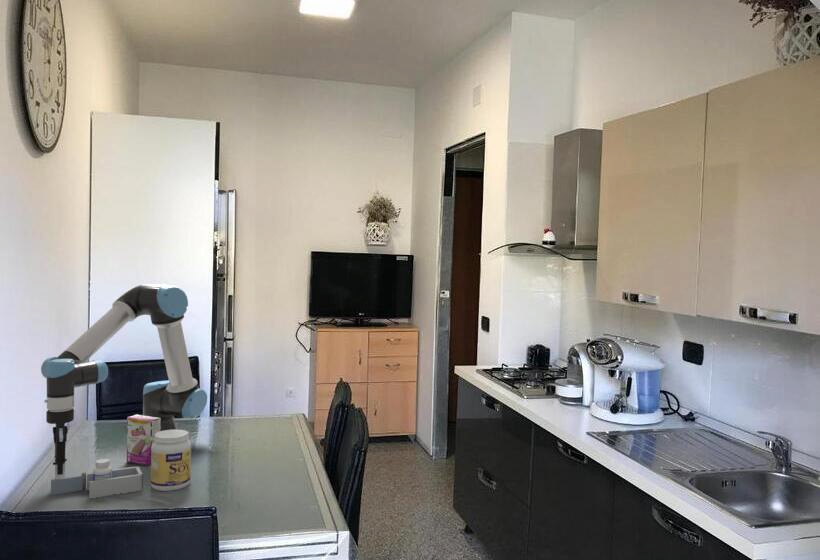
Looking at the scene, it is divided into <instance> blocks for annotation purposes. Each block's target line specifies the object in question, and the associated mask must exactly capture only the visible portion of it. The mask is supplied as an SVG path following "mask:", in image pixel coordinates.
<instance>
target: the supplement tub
mask: <svg viewBox="0 0 820 560" xmlns="http://www.w3.org/2000/svg"><path fill="white" fill-rule="evenodd" d="M189 439H190V436H189V431H188V430H184V429H178V430H164V431H160V432H157V433H155V435H154V441H155V442H154V443H153V444H152V447H151V466H150V486H151V488H152V489H154V490H156V491H162V492H170V491H171V492H173V491H176V490H177V491H178V490H181V489H183V488H185V487H188V486H189V484H190V483H191V476H192V475H191V469H192V465H191V464H192V463H191V462H192V443H191V441H190V440H189Z"/></svg>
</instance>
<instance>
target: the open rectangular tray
mask: <svg viewBox="0 0 820 560" xmlns="http://www.w3.org/2000/svg"><path fill="white" fill-rule="evenodd" d="M143 490H144V474H143V471H142V470H141V468H140V467H139V465H138V466H137V465H136V466H130V467H122V468H116V469H112V478H109V479H103V480H96V481H93V472H89V473H87V472H86V491H88V492H89V493H88V497H89V499H90V500H91V498H92V499H97V498H96V497H98V498H102V497H101V496H104V497H107V496H106V495H110V496H113V495H112V494H116V495H121V494H120V493H122V494H127V493H128V492H129V493H134V492H140V491H143ZM129 493H128V494H129Z"/></svg>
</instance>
